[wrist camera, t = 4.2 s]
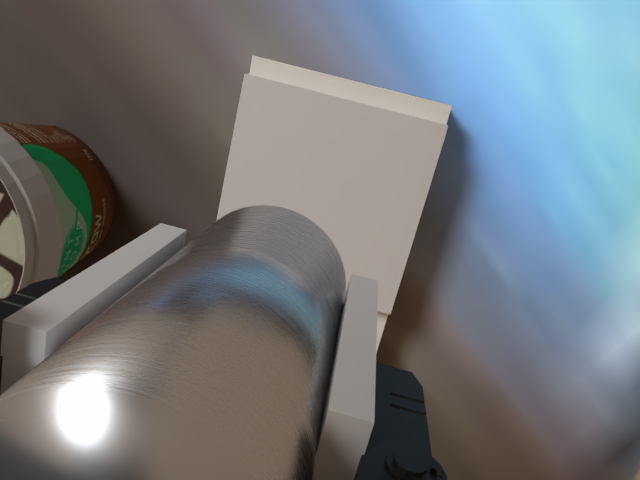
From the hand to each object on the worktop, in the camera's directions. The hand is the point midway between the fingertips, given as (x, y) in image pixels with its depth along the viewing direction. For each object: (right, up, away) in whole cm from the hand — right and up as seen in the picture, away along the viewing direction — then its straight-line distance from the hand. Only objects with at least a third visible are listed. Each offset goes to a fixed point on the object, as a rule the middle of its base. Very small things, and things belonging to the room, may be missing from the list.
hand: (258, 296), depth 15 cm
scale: (+2, +3, +18) cm, 19 cm away
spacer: (0, 0, +1) cm, 1 cm away
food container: (-14, +4, +20) cm, 25 cm away
